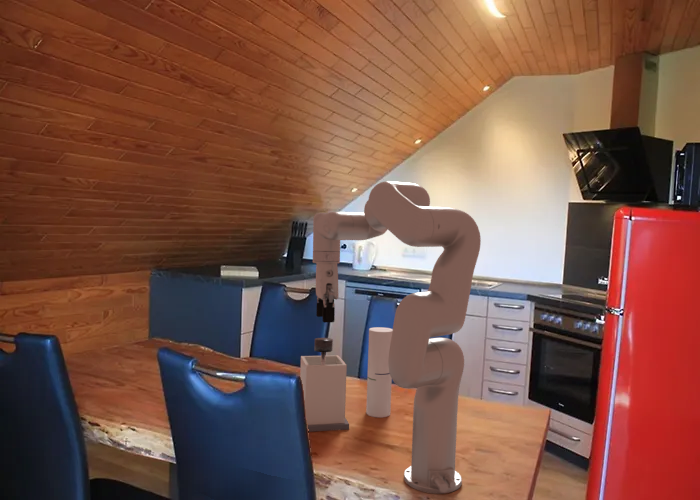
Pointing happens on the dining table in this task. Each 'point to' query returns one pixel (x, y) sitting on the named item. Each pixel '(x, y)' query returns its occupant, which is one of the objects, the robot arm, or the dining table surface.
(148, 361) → the dining table surface
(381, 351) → the cylindrical container
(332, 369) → the press carafe
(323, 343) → the plunger
